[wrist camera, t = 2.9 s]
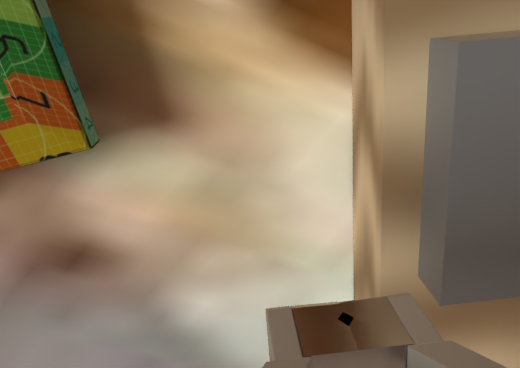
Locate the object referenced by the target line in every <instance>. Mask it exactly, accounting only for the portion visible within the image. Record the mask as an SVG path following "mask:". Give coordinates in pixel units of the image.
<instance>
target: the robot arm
mask: <svg viewBox="0 0 520 368" xmlns="http://www.w3.org/2000/svg"><path fill="white" fill-rule="evenodd" d="M266 322H267V334H268V345H269V357H270V362H266V363H265V364H264V366H263V367H262V368H507V367H505V366H503V365H501V364H499V363H497V362H495V361H493V360H491V359H489V358H487V357H484V356H482V355H480V354H478V353H476V352H474V351H472V350H470V349H468V348H466V347H464V346H462V345H460V344H458V343H456V342H454V341H452V340H449V341H444V340H443V339H442V337H441V336H440V335H439V333H438V332H437V330H436V329H435V328H434V326H433V325H432V323H431V322H430V321H429V319H428V318H427V316H426V315H425V314H424V312H423V311H422V309H421V308H420V307H419V305H418V304H417V302H416V301H415V299H414V298H413V297H412V295H411V294H409V293H400V294H393V295H387V296H383V297H375V298H368V299H360V300H352V301H344V302H329V303H319V304H308V305H297V306H290V307H289V306H286V307H277V308H268V309H266Z"/></svg>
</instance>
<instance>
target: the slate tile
mask: <svg viewBox="0 0 520 368" xmlns="http://www.w3.org/2000/svg"><path fill="white" fill-rule="evenodd" d="M418 277H419V278H420V279H421V281H422V282H423V283H424V285H425V286H426V288H427V289H428V290H429V292H430V293H431V294H432V296H433V297H434V298H435V300H436V301H437V302H438V304H439V305H440V306H446V305H454V304H463V303H472V302H480V301H489V300H498V299H506V298H515V297H520V30H517V31H506V32H494V33H483V34H472V35H460V36H449V37H437V38H430V44H429V64H428V84H427V104H426V124H425V144H424V164H423V184H422V204H421V224H420V244H419V265H418Z"/></svg>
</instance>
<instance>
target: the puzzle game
mask: <svg viewBox="0 0 520 368" xmlns="http://www.w3.org/2000/svg"><path fill="white" fill-rule="evenodd" d="M99 141H100V140H99V138H98V135H97V133H96V130H95V127H94V125H93V122H92V119H91V117H90V114H89V112H88V109H87V106H86V104H85V101H84V98H83V96H82V93H81V91H80V88H79V85H78V83H77V80H76V77H75V75H74V72H73V70H72V67H71V64H70V62H69V59H68V57H67V54H66V51H65V49H64V46H63V43H62V41H61V38H60V36H59V33H58V30H57V28H56V25H55V22H54V20H53V17H52V15H51V12H50V9H49V7H48V4H47V2H46V0H0V172H2V171H6V170H9V169H13V168H17V167H21V166H25V165H29V164H33V163H37V162H41V161H44V160H48V159H52V158H56V157H60V156H64V155H68V154H72V153H75V152H79V151H83V150H87V149H91V148H93V147H94V146H95V145H96V144H97V143H98V142H99Z"/></svg>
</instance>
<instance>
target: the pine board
mask: <svg viewBox="0 0 520 368" xmlns="http://www.w3.org/2000/svg"><path fill="white" fill-rule="evenodd" d="M517 30H520V0H352V95H353V239H354V300H360V299H368V298H375V297H383V296H387V295H393V294H400V293H409V294H411V295H412V297H413V298H414V299H415V301H416V302H417V304H418V305H419V307H420V308H421V309H422V311H423V312H424V314H425V315H426V316H427V318H428V319H429V321H430V322H431V323H432V325H433V326H434V328H435V329H436V330H437V332H438V333H439V335H440V336H441V337H442V339H443V340H444V341H449V340H452V341H454V342H456V343H458V344H460V345H462V346H464V347H466V348H468V349H470V350H472V351H474V352H476V353H478V354H480V355H482V356H484V357H487V358H489V359H491V360H493V361H495V362H497V363H499V364H501V365H503V366H505V367H507V368H520V297H515V298H506V299H498V300H489V301H480V302H472V303H463V304H454V305H446V306H440V305H439V304H438V302H437V301H436V300H435V298H434V297H433V296H432V294H431V293H430V292H429V290H428V289H427V288H426V286H425V285H424V283H423V282H422V281H421V279H420V278H419V277H418V265H419V244H420V224H421V204H422V184H423V164H424V144H425V124H426V104H427V84H428V64H429V44H430V38H437V37H449V36H460V35H472V34H483V33H494V32H506V31H517Z"/></svg>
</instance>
